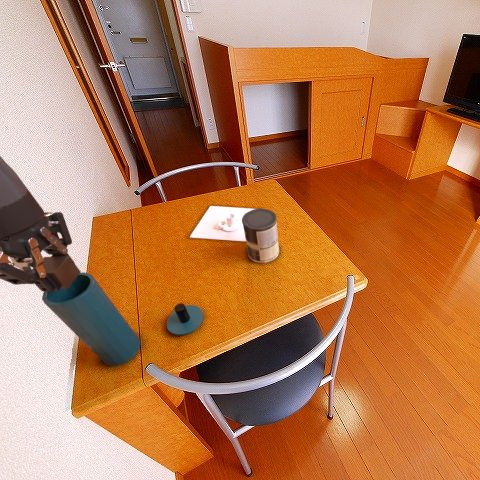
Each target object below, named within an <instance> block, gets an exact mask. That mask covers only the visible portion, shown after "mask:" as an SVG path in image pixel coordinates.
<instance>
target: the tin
mask: <svg viewBox="0 0 480 480" xmlns="http://www.w3.org/2000/svg"><path fill="white" fill-rule="evenodd" d="M41 300H42V302H43V303H44V305H45V306H47V308H48V309H50V311H52V312H53V314H54V315H55V316H56V317H58V318H59V319H60V320H61V321H62V322H63V323H64V325H66V327H67V328H68V329H69V330H70V331H72V333H74V334H75V336H76V337H77V338H79V340H81V341H82V343H84V344H85V346H86V347H88V349H89V350H90V351H92V352H93V353H94V354H95V355H96V356H97V357H98V358H99V359H100V360H101V361H102V362H103V363H104V364H105V365H107V366H110V367H118V366H121V365H123V364H125V363H127V362H129V361H131V360H132V359H133V358H134V357H135V356H136V355H137V354H138V352H139V350H140V347H141V340H140V338H139V336H138V334H137V333H136V332H135V331H134V330H133V328H132V327H131V326H130V324H129V323H128V322H127V320H126V318H125V317H124V316H123V315H122V313H121V312H120V311H119V309H118V308H117V307H116V305H115V304H114V302H112V300H111V299H110V297H109V296H108V294H107V293H106V292H105V291H104V289H103V288H102V286H101V285H100V284H99V282H98V281H97V280H96V278H95V277H94V275H92V274H91V273H88V272H80V274H79V275H78V276H77V278H76V279H75V280H74V281H73V283H72V284H71V285H70V286H69V288H68V289H59V290H58V291H55V292H43V293H42V296H41Z"/></svg>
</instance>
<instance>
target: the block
mask: <svg viewBox="0 0 480 480" xmlns="http://www.w3.org/2000/svg"><path fill="white" fill-rule="evenodd" d="M69 256H70V255H69ZM69 256H59V257H51V256H44V257H43V259H44V263H43V266H44V268H45V270H46V272H47V274H49V275H50V276H51V277H52V278H53V279H54V280H55V281H56V283H57V284H58V285H59V286H60V287H61V288H60V289H68V288H69V286H70V285H71V284H72V283H73V281H74V280H75V279H76V278H77V276H78V275H79V274H80V273H82V272H81V270H80V268H79V266H77V265H76V263H74V262H75V261H74V260H73V259H72V260H73V261H74V262H73V261H72V260H71V258H72V257H71V256H70V257H71V258H70V257H69ZM31 269H32V271H34V269H33V268H31Z"/></svg>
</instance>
